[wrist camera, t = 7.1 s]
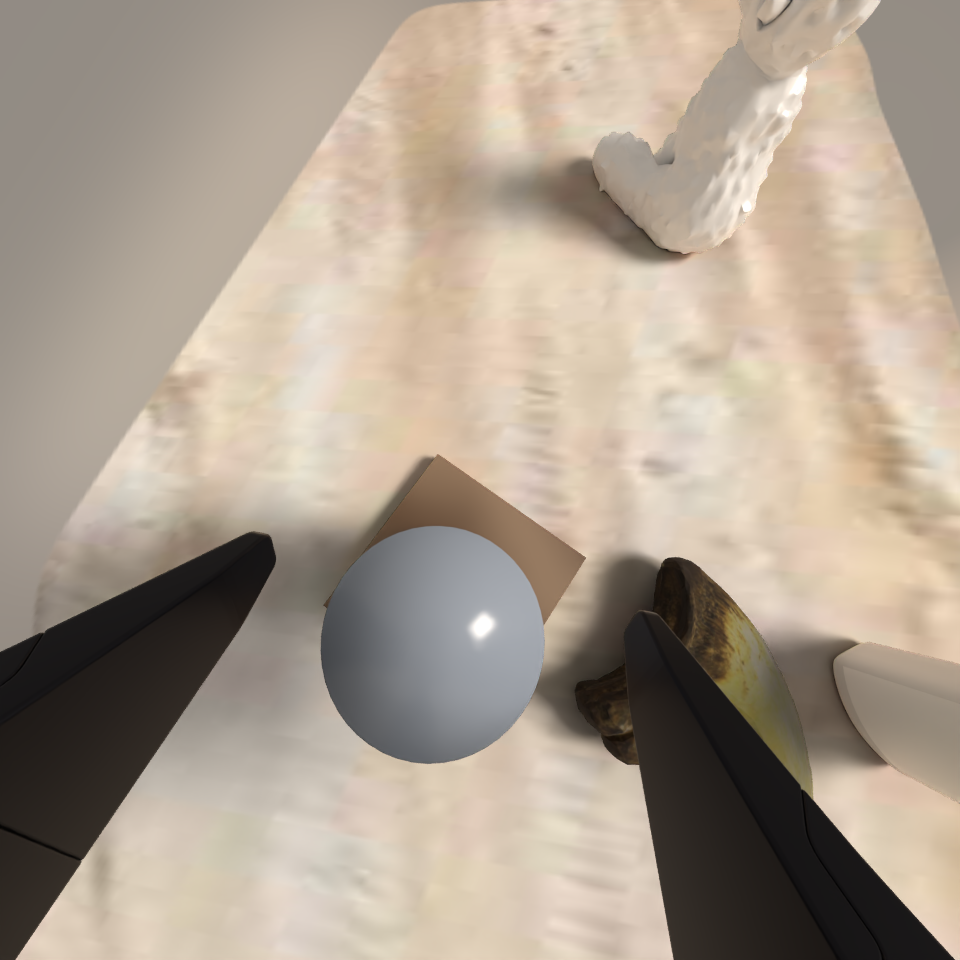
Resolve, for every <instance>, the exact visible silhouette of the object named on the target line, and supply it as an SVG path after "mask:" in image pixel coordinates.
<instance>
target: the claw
mask: <svg viewBox="0 0 960 960" xmlns="http://www.w3.org/2000/svg"><path fill="white" fill-rule="evenodd" d="M652 612H654V613H657V614H658V615H659V616H660V617H661V618H662V619H663V620H664V622H665V623H666V624H667V625H668V626H669V628H670V629H671V630H672V631H673V632H674V634H675V635H676V636H677V637H678V638H679V640H680V641H681V642H682V643H683V644H684V646H685V647H686V648H687V649H688V650H689V652H690V653H691V654H692V655H693V656H694V658H695V659H696V660H697V661H698V662H699V664H700V665H701V666H702V667H703V668H704V670H705V671H706V672H707V673H708V674H709V676H710V677H711V678H712V679H713V680H714V682H715V683H716V684H717V685H718V686H719V688H720V689H721V690H722V691H723V692H724V694H725V695H726V696H727V697H728V698H729V700H730V701H731V702H732V703H733V704H734V706H735V707H736V708H737V709H738V710H739V712H740V713H741V714H742V715H743V716H744V718H745V719H746V720H747V721H748V722H749V724H750V725H751V726H752V727H753V728H754V730H755V731H756V732H757V733H758V734H759V736H760V737H761V738H762V739H763V740H764V742H765V743H766V744H767V745H768V746H769V748H770V749H771V750H772V751H773V752H774V754H775V755H776V756H777V757H778V758H779V760H780V761H781V762H782V763H783V764H784V766H785V767H786V768H787V769H788V770H789V772H790V773H791V774H792V775H793V777H794V778H795V779H796V780H797V781H798V783H799V784H800V785H801V789H803V790H805V791H806V792H807V793H808V794H809V796H810V797H811V798H812V799H813V782H812V774H811V768H810V764H809V759H808V753H807V748H806V744H805V740H804V735H803V731H802V727H801V723H800V720H799V716H798V713H797V710H796V707H795V704H794V701H793V699H792V697H791V694H790V692H789V690H788V687H787V685H786V683H785V680H784V678H783V676H782V674H781V672H780V670H779V668H778V666H777V665H776V663H775V661H774V659H773V657H772V655H771V653H770V651H769V649H768V647H767V645H766V644H765V642H764V640H763V638H762V637H761V635H760V634H759V632H758V631H757V630H756V628H755V627H754V625H753V624H752V623H751V621H750V620H749V619H748V617H747V616H746V615H745V614H744V613H743V612H742V610H741V609H740V608H739V607H738V605H737V604H736V603H735V602H734V601H733V599H732V598H731V597H730V596H729V595H728V594H727V593H726V592H725V591H724V590H723V589H722V588H721V587H720V586H719V585H718V584H717V583H716V582H714V581H713V580H712V579H711V578H710V577H709V576H708V575H707V574H706V573H705V572H703V571H702V569H701V568H700V567H698V566H697V565H696V564H694V563H693V562H691V561H689V560H686V559H683V558H679V557H672V558H667V559H665V560H664V561H663V563H662V564H661V568H660V570H659V572H658V574H657V580H656V589H655V594H654V605H653V610H652ZM575 695H576V701H577V705H578V709H579V710H580V712H581V713H582V714H583V716H584V717H585V719H586V720H587V722H588V723H590V724H591V725H592V726H593V727H595V728H596V729H597V731H598V732H600V733H601V738H602V740H603V743H604V745H605V747H606V748H607V750H608V751H609V752H610V753H611V754H612V755H613V756H614V757H615V758H617V759H619V760H620V761H622V762H624V763H625V764H627V765H639V761H638V755H637V750H636V744H635V738H634V733H633V727H632V721H631V716H630V709H629V702H628V691H627V678H626V664H624V665H623V666H621V667H619V668H618V669H616V670H615V671H613V672H611V673H609V674H607V675H605V676H603V677H602V678H600V679H597V680H587V681H581V682H579V683H577V685H576V688H575Z"/></svg>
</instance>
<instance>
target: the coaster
mask: <svg viewBox="0 0 960 960" xmlns="http://www.w3.org/2000/svg"><path fill="white" fill-rule="evenodd" d="M425 526H444V527H454V528H458V529H462V530H467V531H469V532H472V533H474V534H477V535H480V536H481V537H483V538H485V539H487V540H489V541H491V542H492V543H494V544H495V545H497V546H498V547H499V548H501V549H502V550H503V551H504V552H505V553H507V554H508V555H509V556H510V557H511V558H512V559H513V560H514V561H515V563H516V564H517V565H518V566H519V567H520V569H521V570H522V571H523V573H524V574H525V576H526V578H527V579H528V581H529V582H530V584H531V586H532V589H533V591H534V593H535V595H536V597H537V601H538V604H539V607H540V610H541V615H542V620H543V625H544V624H545V622H546V621H547V619H548V618H549V616H550V614H551V613H552V611H553V610H554V608H555V606H556V605H557V603H558V602H559V600H560V598H561V597H562V595H563V594H564V592H565V591H566V589H567V587H568V586H569V584H570V583H571V581H572V579H573V578H574V576H575V575H576V573H577V571H578V570H579V568H580V567H581V565H582V563H583V562H584V560H585V559H586V557H584V556H583V555H581V554H580V553H579V552H577V551H576V550H574V549H573V548H571V547H570V546H569V545H567V544H566V543H564V542H563V541H561V540H560V539H559V538H557V537H556V536H554V535H553V534H551V533H550V532H549V531H547V530H546V529H544V528H543V527H541V526H540V525H539V524H537V523H536V522H534V521H533V520H531V519H530V518H529V517H527V516H526V515H524V514H523V513H521V512H520V511H519V510H517V509H516V508H514V507H513V506H511V505H510V504H509V503H507V502H506V501H504V500H503V499H501V498H500V497H499V496H497V495H496V494H494V493H493V492H491V491H490V490H489V489H487V488H486V487H484V486H483V485H481V484H480V483H479V482H477V481H476V480H474V479H473V478H471V477H470V476H469V475H467V474H466V473H464V472H463V471H461V470H460V469H459V468H457V467H456V466H454V465H453V464H451V463H450V462H449V461H447V460H446V459H444V458H443V457H441V456H440V455H439V454H437V456H436V457H435V458H434V460H433V461H432V462H431V464H430V465H429V466H428V468H427V469H426V470H425V472H424V473H423V474H422V476H421V477H420V478H419V480H418V481H417V482H416V483H415V485H414V486H413V487H412V489H411V490H410V491H409V493H408V494H407V495H406V497H405V498H404V499H403V501H402V502H401V503H400V505H399V506H398V507H397V509H396V510H395V511H394V513H393V514H392V515H391V517H390V518H389V519H388V521H387V522H386V523H385V524H384V526H383V527H382V528H381V530H380V531H379V532H378V534H377V535H376V536H375V538H374V539H373V540H372V542H371V543H370V544H369V546H368V547H367V548H366V550H365V551H364V552H363V554H364V553H365V552H366V551H368V550H369V549H370V548H371V547H373V546H374V545H376V544H377V543H379V542H381V541H382V540H384V539H386V538H388V537H390V536H392V535H394V534H397V533H399V532H403V531H406V530H409V529H413V528H419V527H425ZM363 554H362V555H363ZM333 593H334V592H333ZM333 593H332V595H333ZM332 595H331V596H330V597H329V599H328V600H327V601H326V603H325V604H324V606H325V607H326V608H328V605H329V602H330V600H331V598H332Z"/></svg>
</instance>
